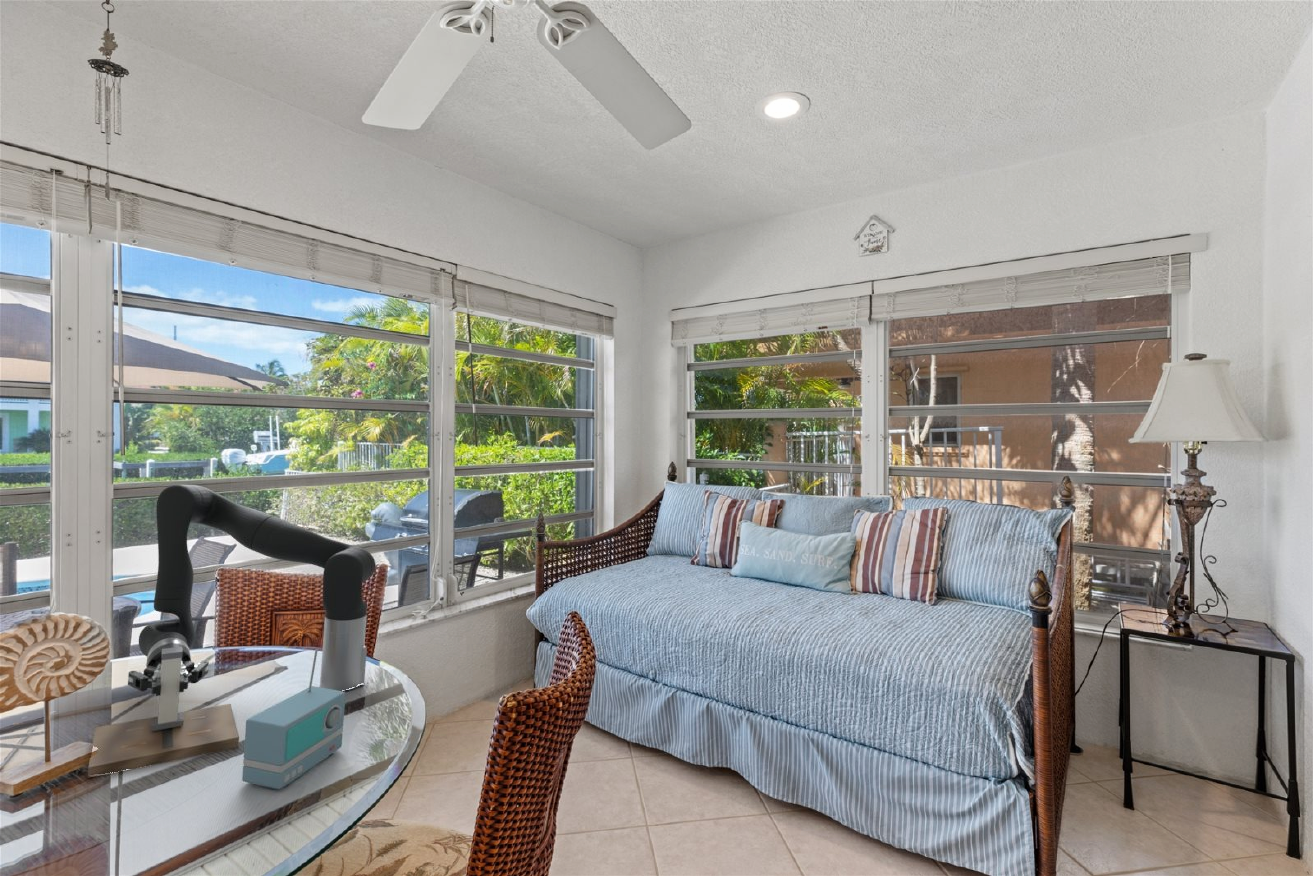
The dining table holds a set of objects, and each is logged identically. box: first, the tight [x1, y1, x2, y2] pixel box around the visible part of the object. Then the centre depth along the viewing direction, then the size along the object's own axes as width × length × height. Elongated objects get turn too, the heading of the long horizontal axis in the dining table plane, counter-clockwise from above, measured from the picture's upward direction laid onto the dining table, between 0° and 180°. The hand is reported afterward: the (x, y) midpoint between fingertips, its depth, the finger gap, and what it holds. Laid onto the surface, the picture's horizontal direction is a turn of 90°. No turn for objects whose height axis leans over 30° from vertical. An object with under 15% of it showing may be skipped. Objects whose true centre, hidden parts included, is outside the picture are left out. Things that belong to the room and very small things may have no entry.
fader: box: [150, 647, 184, 731], centre depth 126 cm, size 5×4×15 cm
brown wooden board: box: [87, 703, 240, 777], centre depth 124 cm, size 22×17×2 cm
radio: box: [241, 648, 346, 790], centre depth 118 cm, size 16×9×20 cm, turn 168°
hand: (170, 689), depth 124 cm, fingers closed on fader, 3 cm apart
